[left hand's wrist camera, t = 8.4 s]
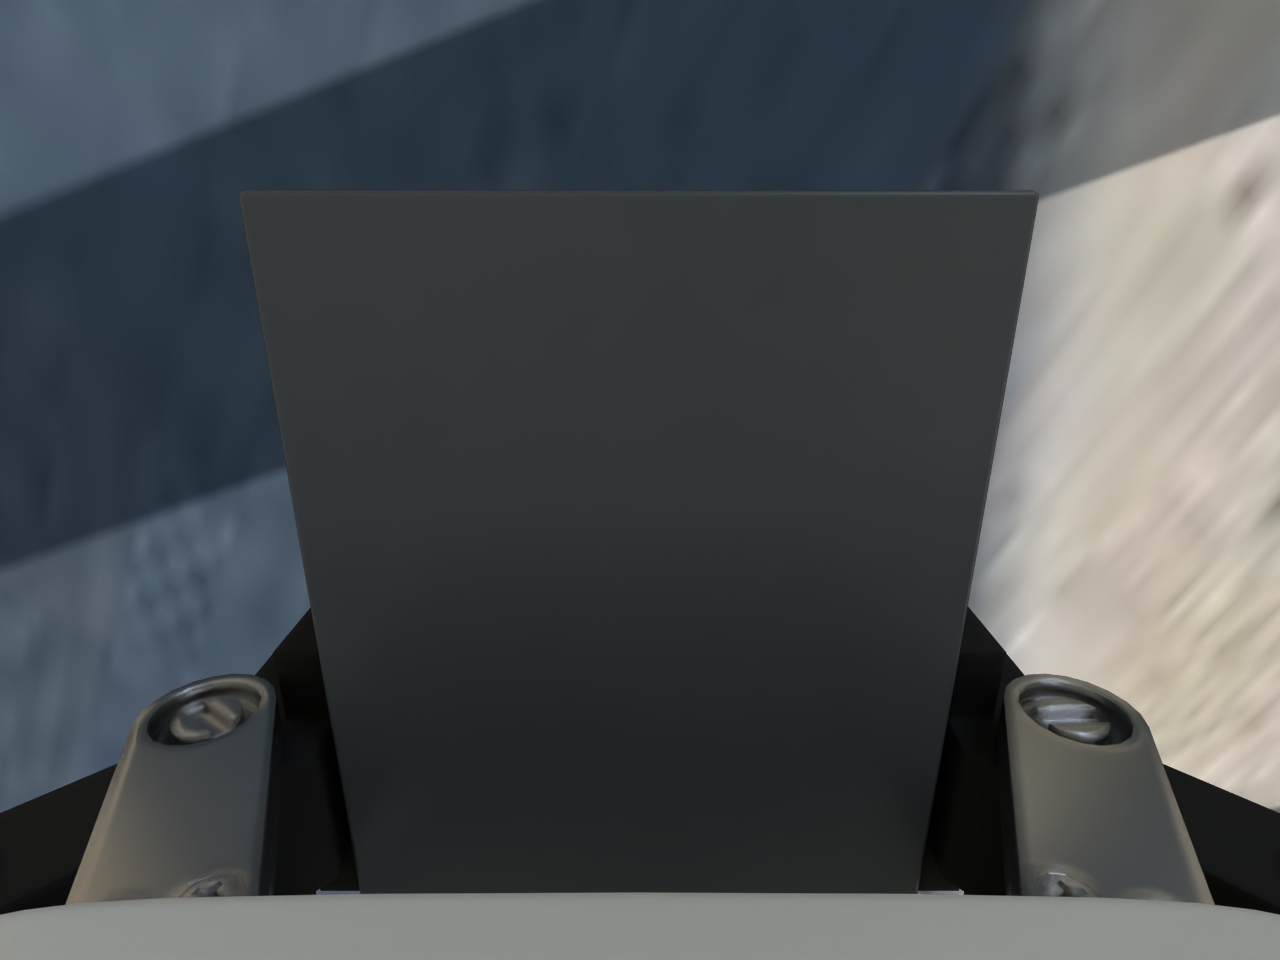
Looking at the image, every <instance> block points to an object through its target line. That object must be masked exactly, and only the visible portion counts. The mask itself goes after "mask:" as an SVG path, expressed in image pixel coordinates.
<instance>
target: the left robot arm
mask: <svg viewBox="0 0 1280 960" xmlns="http://www.w3.org/2000/svg"><path fill="white" fill-rule="evenodd" d="M319 889H320V890H321V891H360V888H359V882H358V876H357V870H356V865H355V859H354V853H353V847H352V842H351V836H350V830H349V824H348V819H347V813H346V807H345V801H344V796H343V790H342V784H341V778H340V773H339V767H338V761H337V755H336V750H335V744H334V738H333V732H332V727H331V721H330V715H329V710H328V704H327V698H326V692H325V687H324V681H323V675H322V669H321V664H320V658H319V652H318V646H317V641H316V635H315V629H314V623H313V618H312V612H311V608H310V609H309V610H308V611H307V613H306V614H305V615H304V616H303V617H302V619H301V620H300V621H299V622H298V623H297V625H296V626H295V627H294V628H293V629H292V631H291V632H290V633H289V634H288V635H287V637H286V638H285V639H284V640H283V641H282V643H281V644H280V645H279V646H278V647H277V649H276V650H275V651H274V652H273V654H272V655H271V657H270V658H269V659H268V660H267V661H266V663H265V664H264V665H263V666H262V668H261V669H260V670H259V671H258V672H257V674H256V675H255V676H254V675H248V674H229V675H221V676H213V677H210V678H206V679H202V680H198V681H195V682H192V683H189V684H187V685H184V686H182V687H180V688H177V689H175V690H172V691H171V692H169V693H167V694H166V695H164V696H162V697H161V698H159V699H157V700H156V701H154V702H153V703H151V704H150V705H149V706H148V707H147V708H146V709H145V710H144V711H142V712H141V713H140V714H139V715H138V717H137V719H136V720H135V722H134V723H133V725H132V726H131V729H130V731H129V734H128V737H127V739H126V742H125V745H124V748H123V750H122V753H121V756H120V758H119V761H118V764H115V765H113V766H111V767H108V768H106V769H104V770H101V771H99V772H96V773H94V774H92V775H89V776H87V777H85V778H82V779H80V780H78V781H75V782H73V783H70V784H68V785H66V786H63V787H61V788H59V789H56V790H54V791H52V792H49V793H47V794H44V795H42V796H40V797H37V798H35V799H33V800H30V801H28V802H26V803H23V804H21V805H19V806H16V807H14V808H11V809H9V810H7V811H4V812H2V813H0V960H1280V813H1278V812H1275V811H1273V810H1271V809H1268V808H1266V807H1264V806H1261V805H1259V804H1256V803H1254V802H1252V801H1249V800H1247V799H1245V798H1242V797H1240V796H1238V795H1235V794H1233V793H1230V792H1228V791H1226V790H1223V789H1221V788H1219V787H1216V786H1214V785H1211V784H1209V783H1207V782H1204V781H1202V780H1200V779H1197V778H1195V777H1193V776H1190V775H1188V774H1185V773H1183V772H1181V771H1178V770H1176V769H1174V768H1171V767H1169V766H1167V765H1164V764H1162V761H1161V758H1160V756H1159V753H1158V750H1157V748H1156V745H1155V742H1154V739H1153V737H1152V734H1151V731H1150V729H1149V726H1148V725H1147V723H1146V722H1145V720H1144V719H1143V717H1142V715H1141V714H1140V713H1139V712H1138V711H1136V710H1135V709H1134V708H1133V707H1132V706H1131V705H1130V704H1129V703H1127V702H1126V701H1124V700H1123V699H1121V698H1119V697H1118V696H1116V695H1114V694H1113V693H1111V692H1109V691H1108V690H1105V689H1103V688H1100V687H1098V686H1096V685H1093V684H1091V683H1088V682H1085V681H1082V680H1078V679H1074V678H1070V677H1067V676H1059V675H1051V674H1032V675H1026V676H1025V675H1024V674H1023V673H1022V672H1021V671H1020V669H1019V668H1018V667H1017V666H1016V665H1015V663H1014V662H1013V661H1012V660H1011V658H1010V657H1009V656H1008V655H1007V654H1006V652H1005V650H1004V649H1003V648H1002V647H1001V646H1000V644H999V643H998V642H997V641H996V640H995V638H994V637H993V636H992V635H991V634H990V632H989V631H988V630H987V629H986V628H985V626H984V625H983V624H982V623H981V622H980V620H979V619H978V618H977V617H976V616H975V614H974V613H973V612H972V611H971V610H970V608H969V607H968V606H967V612H966V618H965V624H964V629H963V635H962V641H961V647H960V652H959V658H958V664H957V669H956V675H955V681H954V687H953V692H952V698H951V704H950V710H949V715H948V721H947V727H946V733H945V738H944V744H943V750H942V756H941V761H940V767H939V773H938V778H937V784H936V790H935V796H934V801H933V807H932V813H931V819H930V824H929V830H928V836H927V842H926V847H925V853H924V859H923V865H922V870H921V876H920V882H919V887H918V891H959V889H961V890H963V891H964V895H942V894H841V893H439V894H338V895H316V891H317V890H319Z"/></svg>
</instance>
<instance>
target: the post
mask: <svg viewBox="0 0 1280 960" xmlns="http://www.w3.org/2000/svg"><path fill="white" fill-rule="evenodd" d="M239 198H240V204H241V210H242V216H243V221H244V227H245V233H246V238H247V244H248V250H249V256H250V261H251V267H252V273H253V279H254V284H255V290H256V296H257V302H258V307H259V313H260V319H261V325H262V330H263V336H264V342H265V348H266V353H267V359H268V365H269V371H270V376H271V382H272V388H273V394H274V399H275V405H276V411H277V417H278V422H279V428H280V434H281V440H282V445H283V451H284V457H285V463H286V468H287V474H288V480H289V485H290V491H291V497H292V503H293V508H294V514H295V520H296V526H297V531H298V537H299V543H300V549H301V554H302V560H303V566H304V572H305V577H306V583H307V589H308V595H309V600H310V606H311V612H312V618H313V623H314V629H315V635H316V641H317V646H318V652H319V658H320V664H321V669H322V675H323V681H324V687H325V692H326V698H327V704H328V710H329V715H330V721H331V727H332V732H333V738H334V744H335V750H336V755H337V761H338V767H339V773H340V778H341V784H342V790H343V796H344V801H345V807H346V813H347V819H348V824H349V830H350V836H351V842H352V847H353V853H354V859H355V865H356V870H357V876H358V882H359V888H360V893H361V894H439V893H841V894H917V893H918V887H919V882H920V876H921V870H922V865H923V859H924V853H925V847H926V842H927V836H928V830H929V824H930V819H931V813H932V807H933V801H934V796H935V790H936V784H937V778H938V773H939V767H940V761H941V756H942V750H943V744H944V738H945V733H946V727H947V721H948V715H949V710H950V704H951V698H952V692H953V687H954V681H955V675H956V669H957V664H958V658H959V652H960V647H961V641H962V635H963V629H964V624H965V618H966V612H967V606H968V601H969V595H970V589H971V583H972V578H973V572H974V566H975V560H976V555H977V549H978V543H979V538H980V532H981V526H982V520H983V515H984V509H985V503H986V497H987V492H988V486H989V480H990V474H991V469H992V463H993V457H994V451H995V446H996V440H997V434H998V429H999V423H1000V417H1001V411H1002V406H1003V400H1004V394H1005V388H1006V383H1007V377H1008V371H1009V365H1010V360H1011V354H1012V348H1013V342H1014V337H1015V331H1016V325H1017V320H1018V314H1019V308H1020V302H1021V297H1022V291H1023V285H1024V279H1025V274H1026V268H1027V262H1028V256H1029V251H1030V245H1031V239H1032V233H1033V228H1034V222H1035V216H1036V211H1037V205H1038V199H1039V197H1038V193H1037V192H1034V191H1032V190H245V191H243V192H241V193H240V197H239Z"/></svg>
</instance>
